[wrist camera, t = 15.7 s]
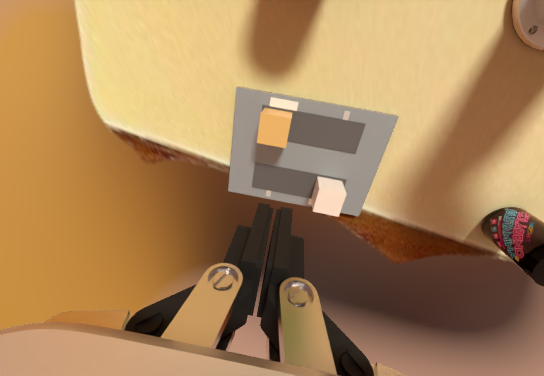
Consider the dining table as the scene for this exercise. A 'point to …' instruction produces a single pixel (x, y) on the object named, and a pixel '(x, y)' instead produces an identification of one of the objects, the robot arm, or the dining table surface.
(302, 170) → the switch board
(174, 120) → the dining table surface
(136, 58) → the dining table surface
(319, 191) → the pale pink cube
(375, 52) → the dining table surface
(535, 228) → the supplement container
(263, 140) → the orange cube
